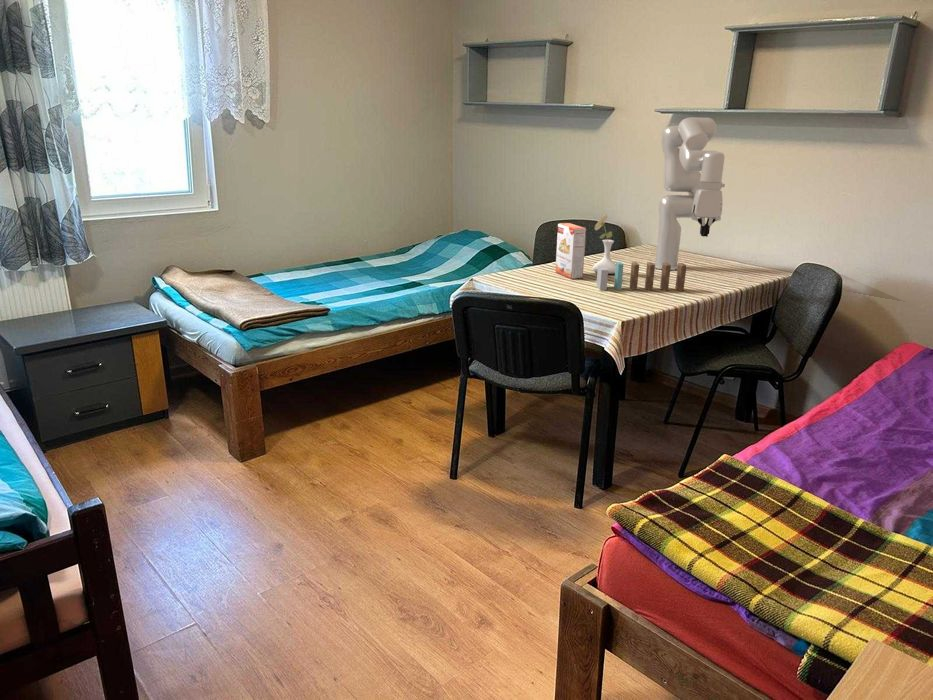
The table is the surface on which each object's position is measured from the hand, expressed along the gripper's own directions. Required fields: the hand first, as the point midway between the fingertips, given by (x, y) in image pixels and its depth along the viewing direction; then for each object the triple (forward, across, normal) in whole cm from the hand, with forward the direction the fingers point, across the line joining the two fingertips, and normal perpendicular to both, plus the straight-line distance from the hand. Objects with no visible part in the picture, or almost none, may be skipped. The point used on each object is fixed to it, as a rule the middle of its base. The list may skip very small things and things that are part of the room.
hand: (704, 235), depth 271 cm
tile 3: (+21, +19, -1) cm, 28 cm away
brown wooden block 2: (+21, +7, 0) cm, 22 cm away
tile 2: (+21, +13, 0) cm, 25 cm away
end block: (+21, +37, -1) cm, 43 cm away
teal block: (+21, +31, -1) cm, 37 cm away
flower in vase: (+21, +30, -29) cm, 47 cm away
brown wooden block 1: (+21, +25, -1) cm, 33 cm away
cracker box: (+21, +46, -23) cm, 56 cm away
